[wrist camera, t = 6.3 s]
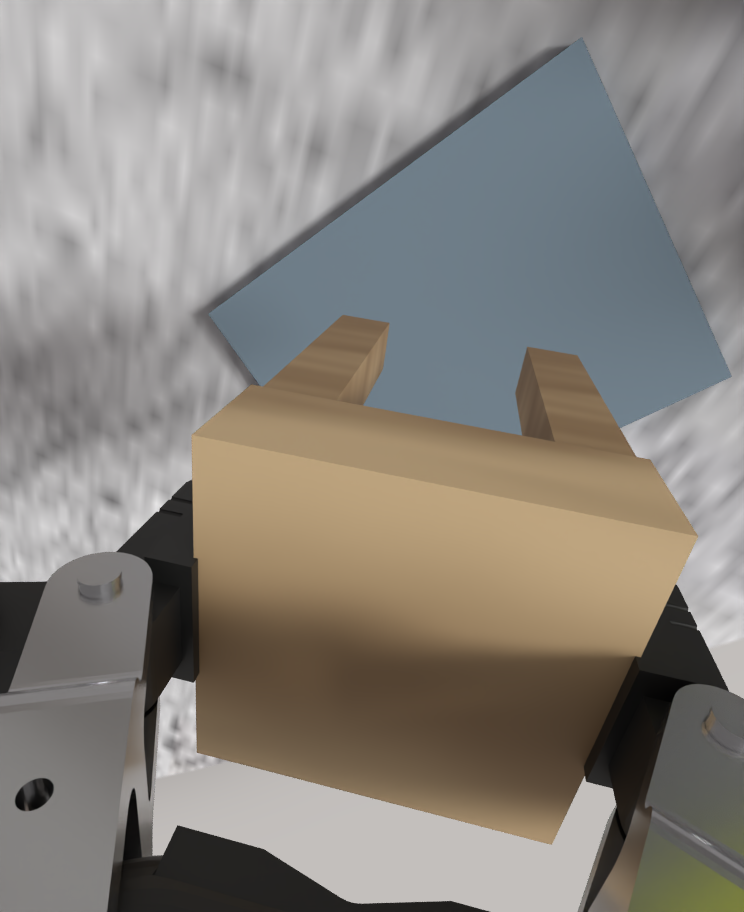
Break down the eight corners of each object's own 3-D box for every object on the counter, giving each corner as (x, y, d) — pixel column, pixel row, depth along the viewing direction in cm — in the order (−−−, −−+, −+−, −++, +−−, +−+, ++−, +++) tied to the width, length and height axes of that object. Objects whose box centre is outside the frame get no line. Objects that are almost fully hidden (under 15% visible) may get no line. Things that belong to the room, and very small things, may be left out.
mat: (375, 531, 31) (372, 541, 30) (217, 309, 27) (208, 313, 26) (722, 369, 24) (732, 376, 23) (577, 43, 20) (581, 37, 19)
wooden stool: (339, 310, 14) (191, 435, 7) (583, 351, 13) (698, 536, 6) (318, 511, 17) (197, 752, 10) (520, 554, 16) (551, 844, 9)
